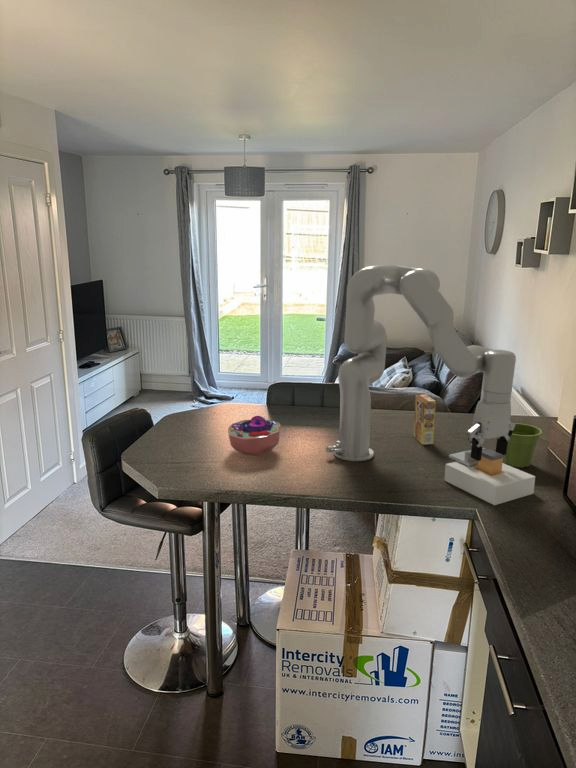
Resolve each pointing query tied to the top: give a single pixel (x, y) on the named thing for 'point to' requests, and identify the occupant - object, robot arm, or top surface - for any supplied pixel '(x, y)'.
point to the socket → (490, 482)
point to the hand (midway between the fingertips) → (488, 456)
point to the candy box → (424, 419)
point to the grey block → (464, 457)
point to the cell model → (254, 435)
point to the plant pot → (522, 445)
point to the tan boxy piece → (490, 462)
